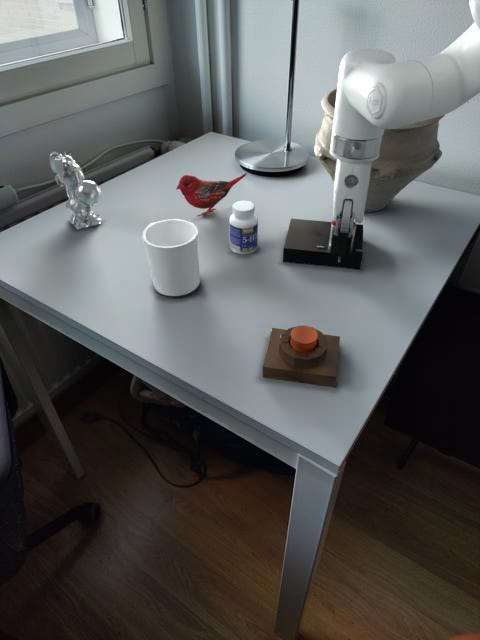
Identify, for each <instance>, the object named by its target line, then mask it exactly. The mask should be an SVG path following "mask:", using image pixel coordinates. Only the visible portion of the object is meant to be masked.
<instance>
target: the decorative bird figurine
mask: <svg viewBox="0 0 480 640" xmlns="http://www.w3.org/2000/svg"><path fill="white" fill-rule="evenodd" d="M247 175H248V173H244V174H241V175H239V176H238V177H235V178H233V179H231V180H229V181H226V180H220V179H200V178H198V177H197V176H196V175H191V174H184V175H182V176H181V177H180V180H179V181H178V185H177V186H176V188H175V190H180V192H181V194H182V195H183V197H184V199H185V201H186V202H187V203H188V204H189V205H190V206H192V207H194V208H195V209H196V208H197V209H201V210H203V209H207V210H206V211H203V212H202V213H200V214H197V215H196V216H195V217H201V216H207V215H209V214H210V213H213V212H214V211H217V209H216V208H215V206H217V205H218V204H219V203H220V202H221V201H222V200H223V199H224V198H226V197H227V196H228V194H229V192H230V190H231V189H232V188H233V187H234V186H235V185H236V184H237V183H238V182H240V181H241V180H242V179H244V178H245V177H246V176H247Z"/></svg>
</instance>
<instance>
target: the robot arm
mask: <svg viewBox="0 0 480 640" xmlns="http://www.w3.org/2000/svg"><path fill="white" fill-rule="evenodd" d="M468 4H469V10H470V13H471V17H472V19H473V22H472V23H471V25H469V27H468V28H467V29H466V30H465V31H464V32H463V33H462V34H461V35H460V36H458V37H457V38H456V39H455V40H454V41H453V42H451V43H450V45H448V46H447V47H446V48H445V49H443V50H442V51H441V52H439V53H438V54H435V55H429V56H423V57H419V58H413V59H408V60H404V61H397V60H396V58H395V55H393V54H392V53H390V52H389V51H386V50H383V49H377V48H359V49H354V50H350V51H348V52H347V53H345V54H343V57H342V58H341V60H340V62H339V63H340V64H339V69H338V77H337V87H336V89H337V95H336V103H335V112H334V121H333V130H332V138H331V147H330V154H331V155H332V156H333V157H334V158H336V159H337V163H336V172H335V181H333V195H332V196H333V197H332V198H333V200H332V219H333V220H335V221H336V228H335V233H333V239H332V247H331V254H333V255H343V256H349V254H350V248H351V242H352V236H353V235H352V228H353V222H355V223H358V224H361V223H363V221H364V217H365V212H364V210H365V204H366V198H367V192H368V186H369V180H370V172H371V163H372V161H374V160H376V159H377V158H378V157H379V155H380V150H381V145H382V139H383V133H384V129H395V128H399V127H403V126H407V125H410V124H414V123H416V122H420V121H424V120H428V119H431V118H436V117H439V116H443V115H445V116H446V115H447V114H450V113H452V112H454V111H455V110H457V109H459V108H461V107H462V106H463V105H465V104H466V103H468V102H469V101H471V100H472V99H473V98H474V97H476V96H477V95H479V94H480V0H468ZM340 222H342V223H341V226H339V223H340ZM349 223H350V225H349Z"/></svg>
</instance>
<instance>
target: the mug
mask: <svg viewBox="0 0 480 640" xmlns="http://www.w3.org/2000/svg"><path fill="white" fill-rule="evenodd" d="M141 237H142V241H143V245H144V247H145V251H146V255H147V256H146V257H147V260H148V265H149V270H150V275H151V279H152V284H153V288H154V291H155V292H156V293H157V294H158V295H160V296H161V297H164V298H167V299H182V298H185V297H188V296H190V295H193V294H194V293H195V292H196V291H197V290H198V288H199V287H200V284H201V277H200V261H199V259H200V258H199V229H198V227H197V225H195V223H193V222H191V221H189V220H187V219H186V220H185V219H181V218H168V219H161V220H159V221H155V222H151V223H149V224H148V225H147V227H145V228H144V229H143V231H142V235H141Z"/></svg>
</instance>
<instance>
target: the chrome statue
mask: <svg viewBox="0 0 480 640" xmlns="http://www.w3.org/2000/svg"><path fill="white" fill-rule="evenodd" d="M48 160H49V165H50V169H51V170H52V172H53V173H54V174H56V175H55V176H54V180H55V183H56V184H57V186H59V187H63V188H64V191H65V193H66V196H67V198H68V200H67V201H66V203H65V208H66V210H67V211H68V212H69V213H71V216H70V218H69V219H68V222H69V223H70V224H72V225H73V226H74V228H75V229H76V230H81V229H85V228H90V227H93V226H98V225H100V224H101V221H102V220H103V219H102V218H99V217H100V214H97V215H96V214H95V211H92V209H91V208H92V207H94V206H95V205H96V204H98V203H99V201H100V200H101V197H102V190H101V188H100V186H99V185H98V184H97V183H96V182H95V181H93V180H88V179H86V180H85V175H84V172H83V169H82V168H81V166H80V165H78V164H77V163H76V161H75V160H74V159H73V157H72V153H71V152H70V153H69V155H67V154H66V152H65V151H63V154H61V153H59V152H57V151H52V152H51V153H50V155H49V159H48ZM86 220H87V221H86ZM85 221H86V223H85Z"/></svg>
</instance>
